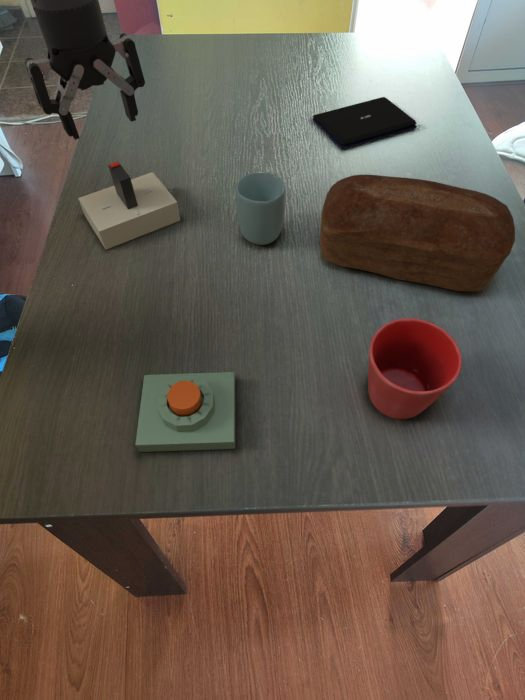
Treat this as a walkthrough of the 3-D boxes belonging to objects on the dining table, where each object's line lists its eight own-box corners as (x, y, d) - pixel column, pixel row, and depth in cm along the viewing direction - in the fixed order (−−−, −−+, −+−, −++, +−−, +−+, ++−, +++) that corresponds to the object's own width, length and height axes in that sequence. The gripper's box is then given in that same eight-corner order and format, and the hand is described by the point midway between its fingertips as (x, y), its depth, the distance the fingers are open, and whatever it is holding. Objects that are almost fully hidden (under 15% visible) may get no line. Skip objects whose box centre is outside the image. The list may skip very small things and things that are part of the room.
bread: (489, 307, 71) (526, 247, 61) (309, 269, 76) (317, 207, 65) (491, 247, 78) (525, 184, 68) (328, 215, 83) (337, 152, 73)
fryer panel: (105, 249, 78) (98, 230, 75) (85, 216, 83) (77, 197, 80) (180, 220, 82) (177, 201, 79) (157, 190, 87) (152, 171, 84)
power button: (168, 416, 57) (165, 409, 55) (170, 387, 59) (168, 380, 57) (201, 415, 57) (199, 408, 55) (202, 386, 59) (200, 379, 57)
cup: (274, 256, 77) (276, 207, 69) (231, 245, 79) (227, 195, 71) (289, 226, 81) (292, 177, 73) (248, 216, 83) (246, 166, 75)
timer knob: (138, 205, 78) (130, 176, 74) (128, 209, 78) (119, 179, 73) (126, 190, 81) (118, 160, 76) (116, 193, 80) (107, 163, 76)
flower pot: (339, 386, 63) (350, 345, 55) (397, 348, 67) (415, 304, 59) (394, 446, 58) (415, 410, 50) (454, 401, 62) (482, 361, 54)
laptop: (306, 112, 103) (307, 103, 101) (389, 99, 106) (391, 90, 104) (332, 153, 94) (333, 144, 92) (422, 137, 97) (425, 128, 95)
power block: (139, 452, 58) (131, 439, 54) (147, 382, 63) (141, 367, 60) (235, 449, 58) (233, 435, 55) (235, 380, 64) (233, 364, 60)
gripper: (109, -29, 58) (139, 102, 71) (-8, -4, 54) (47, 130, 67) (132, -9, 54) (159, 125, 68) (9, 19, 50) (64, 156, 63)
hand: (103, 127), depth 67 cm, fingers open, 8 cm apart
